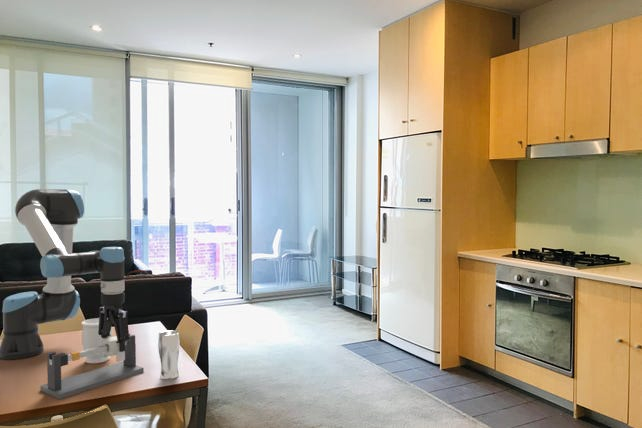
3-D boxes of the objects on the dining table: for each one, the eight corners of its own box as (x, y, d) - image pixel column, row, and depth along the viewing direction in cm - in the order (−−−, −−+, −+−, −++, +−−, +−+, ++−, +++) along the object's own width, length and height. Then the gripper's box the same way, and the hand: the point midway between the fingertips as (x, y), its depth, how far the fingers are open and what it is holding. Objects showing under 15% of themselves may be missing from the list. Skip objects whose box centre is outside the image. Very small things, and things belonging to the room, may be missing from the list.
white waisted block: (167, 371, 173) (167, 329, 172) (184, 374, 170) (183, 331, 170) (154, 378, 166) (153, 334, 166) (171, 381, 164) (170, 336, 163)
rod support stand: (40, 390, 156) (39, 351, 156) (123, 365, 179) (123, 331, 179) (59, 399, 149) (58, 358, 149) (143, 371, 172) (143, 336, 172)
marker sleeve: (102, 353, 169) (102, 339, 169) (116, 349, 173) (116, 335, 173) (111, 356, 166) (110, 341, 166) (124, 352, 170) (124, 338, 170)
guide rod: (48, 366, 154) (48, 356, 153) (129, 344, 176) (129, 335, 176) (53, 368, 152) (53, 358, 152) (134, 346, 174) (134, 337, 174)
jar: (101, 366, 179) (100, 324, 178) (75, 364, 181) (75, 323, 180) (118, 356, 189) (118, 317, 189) (94, 355, 191) (94, 316, 191)
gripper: (86, 290, 172) (87, 355, 173) (119, 297, 160) (120, 367, 161) (106, 287, 178) (107, 350, 179) (140, 293, 166) (141, 361, 167)
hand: (113, 358), depth 170 cm, fingers open, 8 cm apart
